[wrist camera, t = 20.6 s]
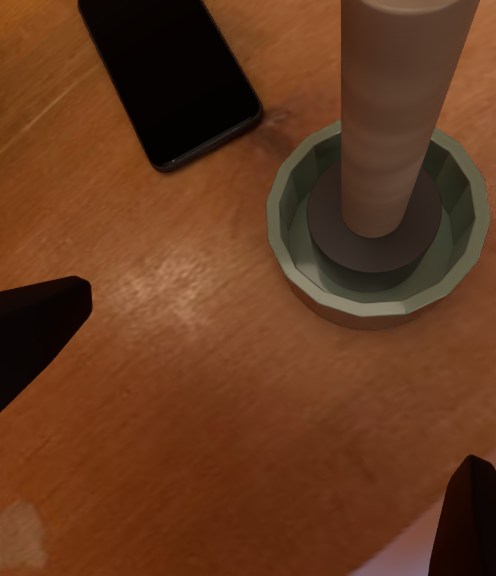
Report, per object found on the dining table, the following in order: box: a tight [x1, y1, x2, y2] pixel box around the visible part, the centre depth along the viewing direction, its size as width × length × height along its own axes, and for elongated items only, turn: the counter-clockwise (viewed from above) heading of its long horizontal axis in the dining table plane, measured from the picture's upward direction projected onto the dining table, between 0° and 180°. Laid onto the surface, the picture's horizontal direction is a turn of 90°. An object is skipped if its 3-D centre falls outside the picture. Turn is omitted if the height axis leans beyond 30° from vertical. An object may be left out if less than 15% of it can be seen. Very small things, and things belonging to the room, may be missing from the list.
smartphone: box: [78, 0, 263, 172], centre depth 28 cm, size 7×1×15 cm
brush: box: [306, 0, 480, 293], centre depth 16 cm, size 6×6×16 cm
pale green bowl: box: [266, 119, 491, 330], centre depth 22 cm, size 9×9×4 cm
